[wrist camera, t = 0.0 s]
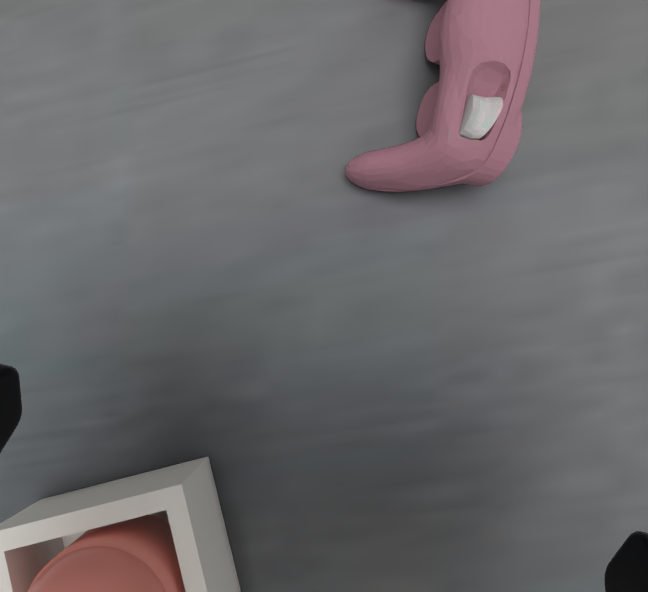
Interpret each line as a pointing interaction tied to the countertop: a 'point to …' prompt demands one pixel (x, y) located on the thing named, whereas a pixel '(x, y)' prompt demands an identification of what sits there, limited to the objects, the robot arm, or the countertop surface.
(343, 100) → the countertop surface
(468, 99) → the video game controller
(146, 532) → the pink rounded piece
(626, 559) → the robot arm
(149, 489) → the housing
